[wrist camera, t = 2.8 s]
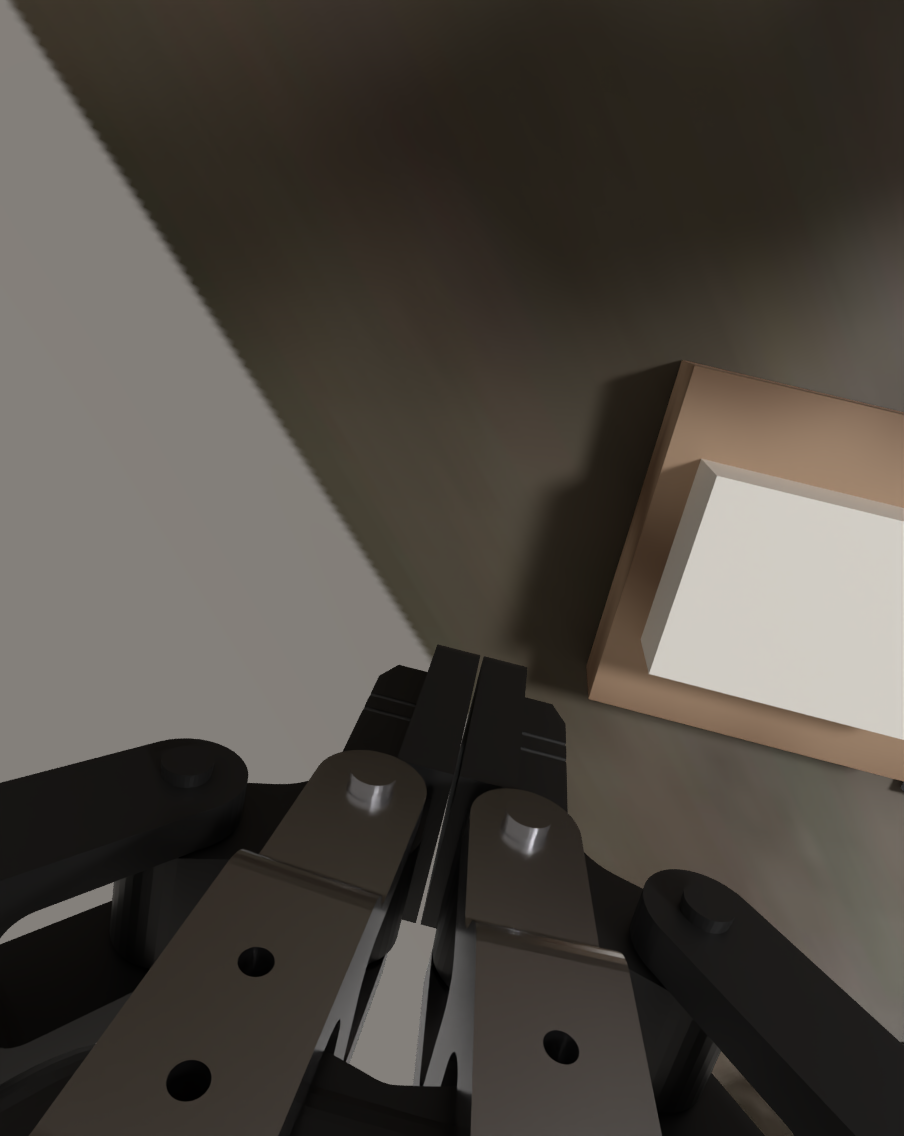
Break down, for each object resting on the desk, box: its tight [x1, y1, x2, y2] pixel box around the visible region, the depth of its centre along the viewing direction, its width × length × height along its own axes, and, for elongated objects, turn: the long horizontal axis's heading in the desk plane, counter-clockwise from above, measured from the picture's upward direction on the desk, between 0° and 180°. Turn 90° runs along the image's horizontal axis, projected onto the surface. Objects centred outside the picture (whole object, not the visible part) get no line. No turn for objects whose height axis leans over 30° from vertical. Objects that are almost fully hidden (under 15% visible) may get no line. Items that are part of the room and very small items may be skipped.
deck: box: [586, 360, 904, 781], centre depth 25 cm, size 11×12×2 cm
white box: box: [641, 459, 904, 740], centre depth 23 cm, size 6×9×2 cm, turn 78°
